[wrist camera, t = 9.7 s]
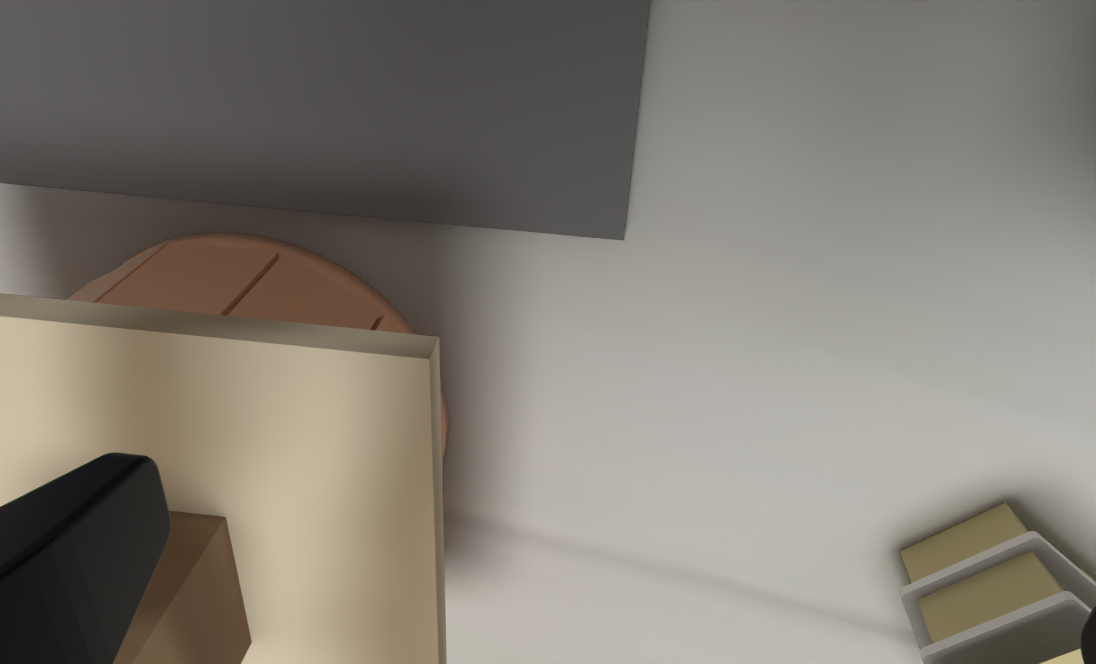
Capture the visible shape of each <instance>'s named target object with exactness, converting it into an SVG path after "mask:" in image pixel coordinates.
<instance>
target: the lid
mask: <svg viewBox="0 0 1096 664" xmlns="http://www.w3.org/2000/svg"><path fill="white" fill-rule="evenodd" d="M114 452H118V453H127V454H136V455H145V456H148V457H150V458H152V459H153V460H154V461H155V462H156V464H157V466H158V468H159V472H160V476H161V480H162V484H163V488H164V492H165V496H166V500H167V504H168V508H169V512H170V516H171V532H170V536H169V540H168V543H167V545H166V548H165V550H164V552H163V554H162V557H161V559H160V561H159V563H158V566H157V568H156V570H155V572H154V575H153V577H152V579H151V581H150V584H149V586H148V588H147V590H146V592H145V595H144V597H143V599H142V601H141V604H140V606H139V608H138V610H137V613H136V615H135V617H134V619H133V622H132V624H131V626H130V628H129V630H128V633H127V635H126V637H125V639H124V642H123V644H122V646H121V648H120V651H119V653H118V655H117V657H116V659H115V662H114V664H447V661H446V616H445V572H444V528H443V483H442V439H441V394H440V350H439V337H437V336H427V335H417V334H407V333H397V332H387V331H376V330H366V329H356V328H346V327H336V326H326V325H315V324H305V323H295V322H285V321H275V320H265V319H255V318H244V317H234V316H224V315H214V314H204V313H194V312H183V311H173V310H163V309H153V308H143V307H133V306H122V305H112V304H102V303H92V302H82V301H72V300H62V299H51V298H41V297H31V296H21V295H11V294H1V293H0V506H2V505H4V504H6V503H8V502H10V501H12V500H14V499H16V498H18V497H20V496H22V495H24V494H26V493H28V492H30V491H32V490H34V489H36V488H38V487H40V486H42V485H44V484H46V483H48V482H50V481H52V480H54V479H56V478H58V477H60V476H62V475H64V474H66V473H68V472H70V471H72V470H74V469H76V468H78V467H80V466H82V465H84V464H86V463H88V462H90V461H92V460H94V459H96V458H98V457H100V456H102V455H104V454H107V453H114Z"/></svg>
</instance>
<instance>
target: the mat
mask: <svg viewBox="0 0 1096 664" xmlns="http://www.w3.org/2000/svg"><path fill="white" fill-rule="evenodd" d="M649 7H650V0H0V183H7V184H18V185H29V186H39V187H50V188H61V189H72V190H83V191H94V192H105V193H115V194H126V195H137V196H148V197H159V198H170V199H181V200H191V201H202V202H213V203H224V204H235V205H246V206H257V207H267V208H278V209H289V210H300V211H311V212H322V213H333V214H343V215H354V216H365V217H376V218H387V219H398V220H408V221H419V222H430V223H441V224H452V225H463V226H474V227H484V228H495V229H506V230H517V231H528V232H539V233H550V234H560V235H571V236H582V237H593V238H604V239H615V240H624V235H625V226H626V217H627V208H628V199H629V190H630V181H631V171H632V162H633V153H634V144H635V135H636V126H637V117H638V108H639V99H640V89H641V80H642V71H643V62H644V53H645V44H646V35H647V26H648V16H649Z"/></svg>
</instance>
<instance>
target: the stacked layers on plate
mask: <svg viewBox="0 0 1096 664" xmlns="http://www.w3.org/2000/svg"><path fill="white" fill-rule="evenodd" d="M900 553H901V556H902V558H903V561H904V564H905V567H906V570H907V572H908V575H909V578H910V581H911V584H908V585H906V586H904V587H902V588H901V589H900V591H899V592H900V595H901V598H902V601H903V603H904V606H905V609H906V612H907V614H908V617H909V620H910V623H911V625H912V628H913V631H914V634H915V636H916V639H917V642H918V645H919V648H920V654H921V657H922V660H923V663H924V664H1084V662H1083V659H1082V655H1081V649H1080V635H1081V630H1082V627H1083V625H1084V622H1085V621H1086V619H1087V617H1088V616H1089V614H1090V612H1091V610H1092V609H1093V607H1094V605H1095V603H1096V582H1095V580H1094V578H1093V577H1092V576H1091V575H1090V574H1088V573H1087V572H1085V571H1083V570H1081V569H1079V568H1078V567H1077V566H1076V565H1074V564H1073V563H1072V562H1071V561H1070V560H1069V559H1067V558H1066V557H1065V556H1064V555H1063V554H1062V553H1060V552H1059V551H1058V550H1057V549H1056V548H1055V547H1053V546H1052V545H1051V544H1050V543H1049V542H1048V541H1046V540H1045V539H1044V538H1043V537H1042V536H1041V535H1039V534H1038V533H1037V532H1035V531H1028V530H1027V529H1026V527H1025V526H1024V525H1023V524H1022V522H1021V521H1020V520H1019V519H1018V517H1017V516H1016V515H1015V514H1014V512H1013V511H1012V510H1011V508H1010V507H1009V506H1008V505H1007V503H1006V502H1005V503H1003V504H1001V505H998V506H996V507H994V508H992V509H990V510H988V511H986V512H983V513H981V514H979V515H977V516H975V517H973V518H970V519H968V520H966V521H964V522H962V523H960V524H958V525H955V526H953V527H951V528H949V529H947V530H945V531H942V532H940V533H938V534H936V535H934V536H932V537H930V538H927V539H925V540H923V541H921V542H919V543H917V544H915V545H912V546H910V547H908V548H906V549H904V550H902V551H900Z"/></svg>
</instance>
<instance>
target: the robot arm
mask: <svg viewBox="0 0 1096 664" xmlns="http://www.w3.org/2000/svg"><path fill="white" fill-rule="evenodd" d="M170 532H171V516H170V512H169V508H168V504H167V500H166V496H165V492H164V488H163V484H162V480H161V476H160V472H159V468H158V466H157V464H156V462H155V461H154V460H153V459H152V458H150V457H148V456H145V455H136V454H127V453H118V452H114V453H107V454H104V455H102V456H100V457H98V458H96V459H94V460H92V461H90V462H88V463H86V464H84V465H82V466H80V467H78V468H76V469H74V470H72V471H70V472H68V473H66V474H64V475H62V476H60V477H58V478H56V479H54V480H52V481H50V482H48V483H46V484H44V485H42V486H40V487H38V488H36V489H34V490H32V491H30V492H28V493H26V494H24V495H22V496H20V497H18V498H16V499H14V500H12V501H10V502H8V503H6V504H4V505H2V506H0V664H114V662H115V659H116V657H117V655H118V653H119V651H120V648H121V646H122V644H123V642H124V639H125V637H126V635H127V633H128V630H129V628H130V626H131V624H132V622H133V619H134V617H135V615H136V613H137V610H138V608H139V606H140V604H141V601H142V599H143V597H144V595H145V592H146V590H147V588H148V586H149V584H150V581H151V579H152V577H153V575H154V572H155V570H156V568H157V566H158V563H159V561H160V559H161V557H162V554H163V552H164V550H165V548H166V545H167V543H168V540H169V536H170ZM1080 649H1081V655H1082V659H1083V662H1084V664H1096V603H1095V605H1094V607H1093V609H1092V610H1091V612H1090V614H1089V616H1088V617H1087V619H1086V621H1085V622H1084V625H1083V627H1082V630H1081V635H1080Z"/></svg>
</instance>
